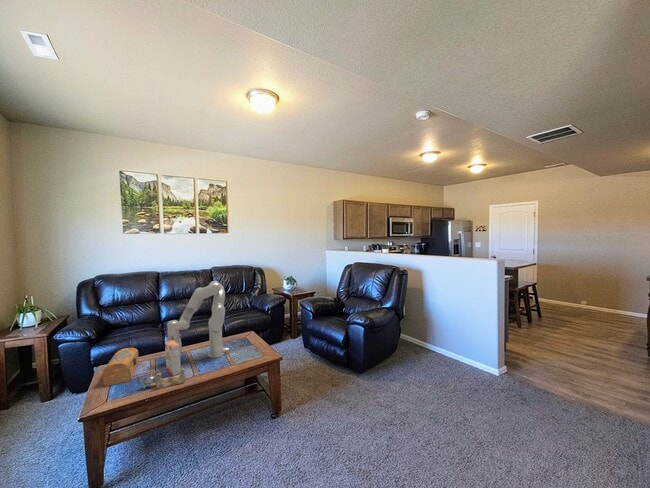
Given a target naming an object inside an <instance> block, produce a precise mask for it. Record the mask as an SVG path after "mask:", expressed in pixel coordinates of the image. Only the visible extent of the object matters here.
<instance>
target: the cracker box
mask: <svg viewBox="0 0 650 488" xmlns="http://www.w3.org/2000/svg"><path fill="white" fill-rule="evenodd" d="M164 349H165V367H166V368H165V369H166V371H167V372H169V373H170V375H172V376H171V377H174V376H178V375H181V369H182V365H181V352H180V345H179V344H178V343H176V342H175V341H174V340H171V341H167V340H166V341H164Z"/></svg>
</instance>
